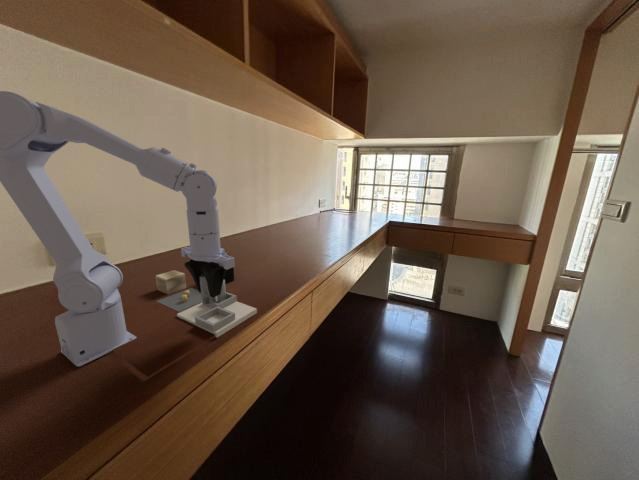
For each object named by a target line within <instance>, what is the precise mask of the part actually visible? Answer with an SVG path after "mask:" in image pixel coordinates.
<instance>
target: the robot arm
mask: <svg viewBox="0 0 639 480" xmlns="http://www.w3.org/2000/svg"><path fill="white" fill-rule="evenodd" d="M69 143H75V144H86V145H89V146H91V147H93V148H95V149H98V150H101V151H102V152H105V153H107V154H110V155H112V156H114V157H116V158H119V159H121V160H124V161H126V162H128V163H131V164H133V165H134V166H135V167H136V169H137V170H138V173H139V174H140V175H141V176H142V177H144V178H146V179H148V180H150V181H152V182H155V183H157V184H159V185H161V186H163V187H166V188H168V189H170V190H172V191H174V192H181V193H182V195H183V196H184V197H185V199H186V217H187V228H188V238H189V245H188V246H185V247H182V248H180V252H181V257H183V258H189V261H186V262H184V267H185V268H186V269H187V271H188V272H189V273H190V275H191V276H192V280H193V281H194V283H195V286H196V288H197V289H196V290H198V291H199V293H201V287H200V279H199V275H200V274H202V273H203V274H204V276H205V278H206V281H207V284H208V290H209V294H210V297H212V298H213V297H216V296H218V295H220V294H221V289H222V284H223V280H224V277H225V275H226V272H227V271H228V269H230V268H233V267H234V268H235V266H236V265H235V264H236V262H235V261H236V260H235V257H234V256H233V257H231V256H229V255H227V254H226V253H224V252H226V251H225V248H222V246H221V234H220V233H221V232H220V220H219V209H218V202H217V197H216V196H215V195H216V192H217V190H218V185H217V181H216V179H215V177H214V176H212V175H211V174H210V173H208V172H207V171H205V170H204V169H203V170H202V169H201V170H200V169H199V170H196V169H197V167H198V165H196V164H195V163H193V162H191V163H190V164H189V163H188V162H186V161H184V160H181V159H180V158H179V157H176V156H173V155H171V153H172V151H170V150H169V149H166V148H164V147H161V149H160V148H158V147H155V146H153V147H150V148H141V147H139V146H138V145H136V144H133V143H131V141H130V142H129V141H128V140H127V139H124V138H122V137H121V136H118V135H117V134H115V133H112V132H111V131H109V130H108V129H105V128H103V127H101V126H100V125H98V124H96V123H94V122H92V121H90V120H88V119H86V118H83V117H81V116H78V115H74V114H72V113H68V112H67V111H64V110H62V109H58V108H55V107H53V106H50V105H47V104H44V103H40V102H38V101H34V100H31V99H29V98H26V97H25V96H24V95H23V96H22V95H21V94H18V93H15V92H11V91H7V90H0V184H2V187H3V188H4V189H5V191H6V192H7V194H8V195H9V196H10V198H11V199H12V201H13V202H14V204H15V205H16V207H17V208H18V210H19V212H20V213H21V214H22V216H23V217H24V218H25V220H26V221H27V223H28V224H29V226H30V228H31V229H32V230H33V232H34V233H35V234H36V236H37V237H38V239H39V240H40V242H41V244H42V246H44V248H45V249H46V251H47V252H48V254H49V255H50V256H51V258H52V259H53V261H54V262H55V264H56V265H55V270H54V274H53V276H52V281H53V283H54V284H55V287H56V289H57V292H58V293H57V297H58V298H57V299H58V301H59V303H60V304H61V306H62V307H64V308H65V309H66V310H67V311H65V312H64V313H61V314H59V315H57V316H55V317H54V325H55V328H56V329H55V330H56V332H57V337H58V340H59V345H60V349H61V350H60V352H61V354H63V355H64V356H65V357H66V358H67V359H68V360H69V361H70V362H71V363H72V364H73V365H74V366H75V367H79V368H80V367H82V366H85V364H88V363H90V362H93V361H94V360H96V359H99V358H101V357H103V356H104V355H107V354H109V353H111V352H113V350H114V349H116V348H117V349H118V348H119V347H120V346H123V345H125V344H127V343H129V342H132V341H133V340H136V339H137V336H136V335H135V334H132V333H131V332H130V331H128V330H127V326H126V319H125V313H124V308H123V301H122V298H121V296H122V295H121V293H120V291H119V288H120V286H121V285H122V283H123V280H124V279H123V278H124V275H123V272H122V271H121V269H120V268H119V267H118V266H116V265H115V264H112V262H111V261H109V259H108V258H107V256H106V255H105V254H103V253H101V252H99V251H96V250H95V249H94V247H93V246H92V244H91V243H90V242H89V240H88V238H87V236H86V234H85V233H84V231H83V230H82V228H81V226H80V225H79V224H78V221H77V220H76V219H75V217H74V216H73V214H72V211H70V209H69V207H68V206H67V203H65V201H64V199H63V198H62V196H61V194H60V193H59V191H58V189H57V188H56V186H55V184H54V183H53V181H52V180H51V177H50V176H49V175H48V173H47V171H46V170H45V168H44V167H45V165H46V164H47V162H48V161H49V160H50V158H51V156H52V155H53V154H54V153H56V152H57V151H59V150H61V149H62V148H63V147H65V146H66V145H67V144H69Z"/></svg>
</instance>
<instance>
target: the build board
mask: <svg viewBox="0 0 639 480" xmlns="http://www.w3.org/2000/svg"><path fill="white" fill-rule="evenodd" d="M257 313H258V309H257V307H253V306H250V305H248V304H245V303H243V302H239V301H238V296H237V295H236V294H233V293H231V292H227V291H226V283H225V280H223V284H222V289H221V294H220V295H218V301H216V302H215V303H212V304H204V303H202V302H200V303H198V304H196V305H194V306H191V307H189V308H187V309H185V310H183V311H180V312H178V313H177V314H176V317H178V318H179V319H181V320H183V321H186V322H188V323H189V324H192V325H194V326H197V327H198V328H200V329H202V330H203V331H204V330H205V331H207V332H209V333H210V334H213V337H215V338H219V337H222V335H224V334H226V333H227V332H229V331H231V330H232V329H233V328H235V327H237V326H239V325H240V324H241V323H243V322H245V321H246V320H248V319H250V318H251V317H253V316H254V315H256V314H257Z"/></svg>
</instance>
